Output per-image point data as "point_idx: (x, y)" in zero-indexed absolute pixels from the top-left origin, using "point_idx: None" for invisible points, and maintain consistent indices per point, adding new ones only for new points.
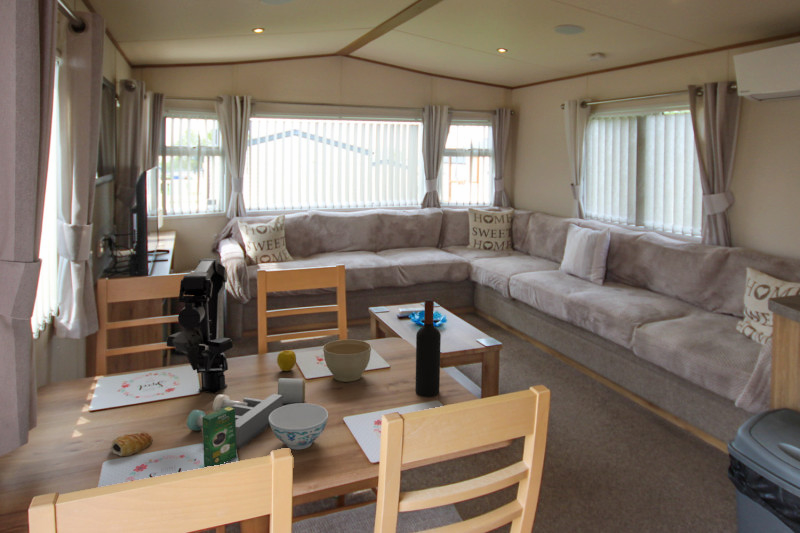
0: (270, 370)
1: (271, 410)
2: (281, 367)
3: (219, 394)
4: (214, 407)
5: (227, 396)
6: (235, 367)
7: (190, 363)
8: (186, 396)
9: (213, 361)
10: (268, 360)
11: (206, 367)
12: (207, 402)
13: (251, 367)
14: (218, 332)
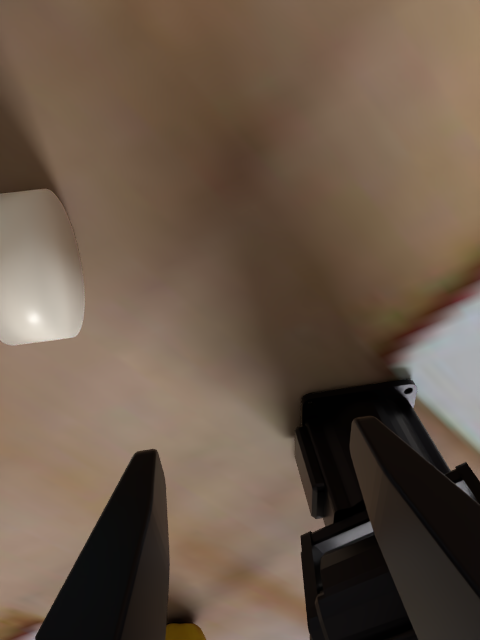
0: (237, 604)
1: None
2: (179, 637)
3: (52, 318)
4: (20, 194)
5: (6, 338)
6: None
7: (455, 492)
8: (439, 305)
9: (365, 597)
10: (307, 633)
11: (100, 521)
12: (265, 304)
13: None
14: None
